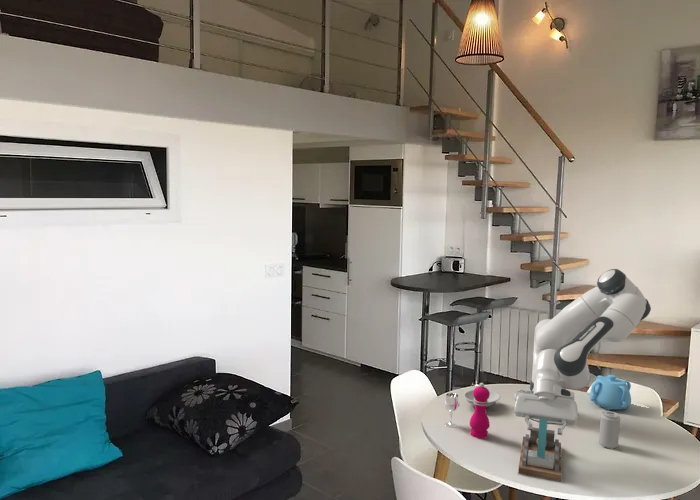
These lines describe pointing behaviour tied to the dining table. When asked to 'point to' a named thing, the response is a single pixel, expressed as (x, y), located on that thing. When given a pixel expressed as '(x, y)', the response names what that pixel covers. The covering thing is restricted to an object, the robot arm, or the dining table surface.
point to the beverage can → (609, 429)
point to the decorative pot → (611, 392)
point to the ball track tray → (551, 447)
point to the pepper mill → (480, 413)
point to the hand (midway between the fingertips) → (544, 431)
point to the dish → (491, 400)
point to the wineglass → (451, 406)
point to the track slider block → (541, 449)
